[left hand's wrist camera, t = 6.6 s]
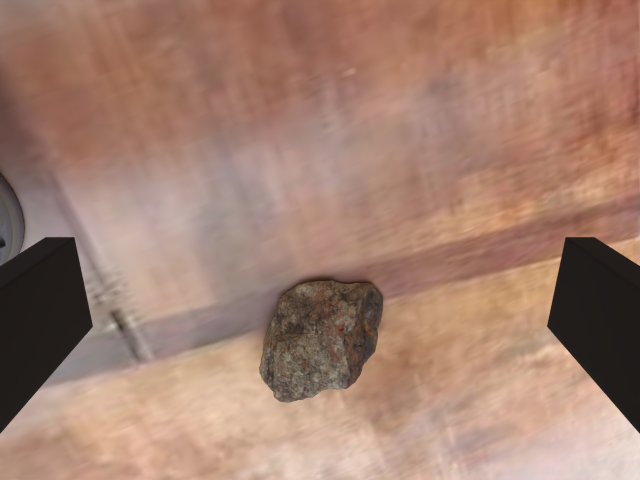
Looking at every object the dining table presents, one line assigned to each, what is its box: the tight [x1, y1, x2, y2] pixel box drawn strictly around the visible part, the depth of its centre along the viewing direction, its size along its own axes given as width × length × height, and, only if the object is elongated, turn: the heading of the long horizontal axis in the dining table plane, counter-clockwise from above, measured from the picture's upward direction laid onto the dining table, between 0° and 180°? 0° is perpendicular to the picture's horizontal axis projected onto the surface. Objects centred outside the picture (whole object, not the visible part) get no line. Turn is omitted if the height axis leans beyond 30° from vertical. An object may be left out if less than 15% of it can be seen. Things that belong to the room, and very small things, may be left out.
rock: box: [259, 280, 383, 402], centre depth 48 cm, size 14×9×10 cm
